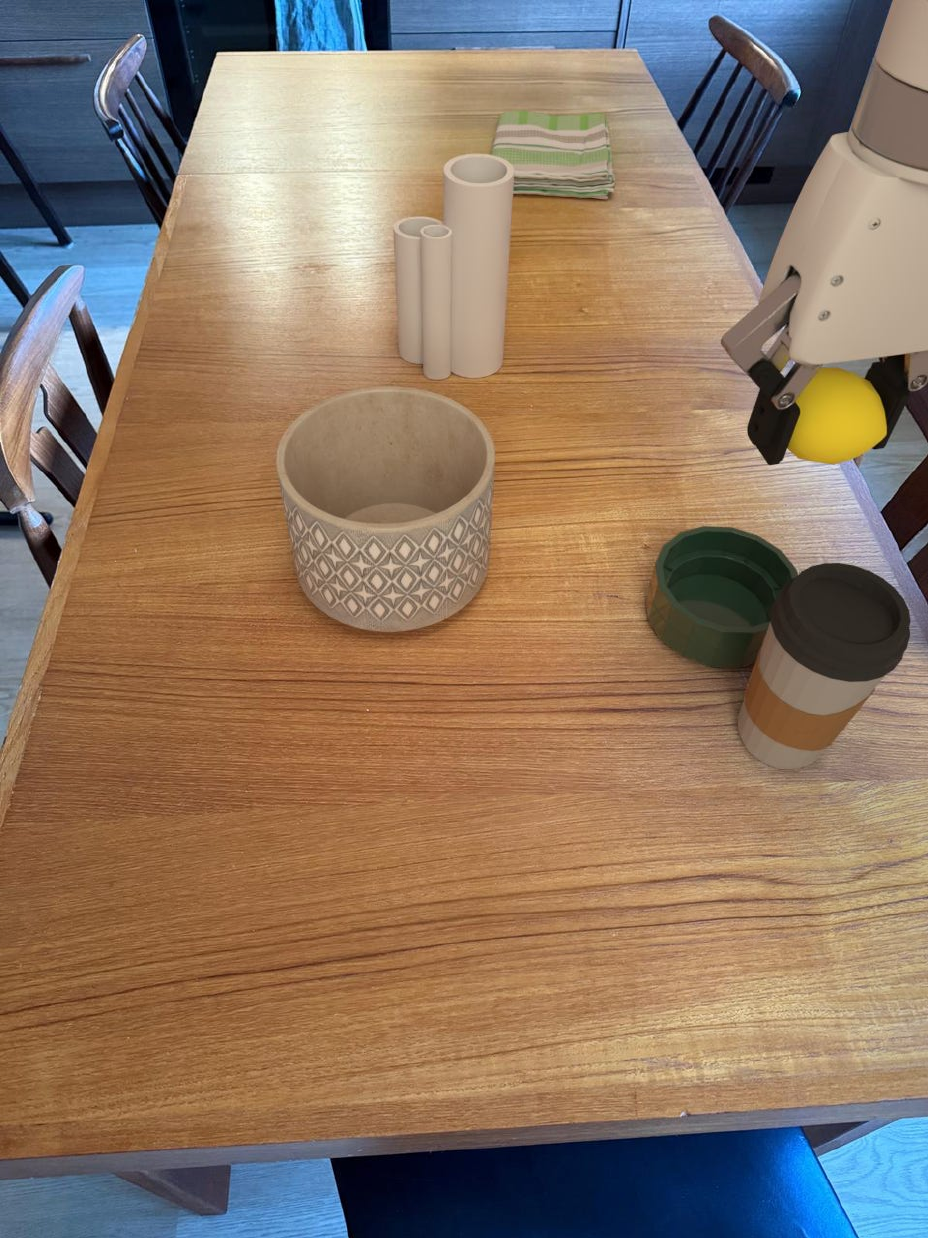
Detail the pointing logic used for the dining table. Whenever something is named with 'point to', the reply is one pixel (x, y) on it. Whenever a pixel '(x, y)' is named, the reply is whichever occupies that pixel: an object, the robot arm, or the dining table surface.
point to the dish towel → (557, 153)
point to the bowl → (716, 594)
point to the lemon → (837, 418)
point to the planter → (388, 506)
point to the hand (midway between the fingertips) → (815, 439)
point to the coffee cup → (820, 661)
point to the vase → (457, 272)
